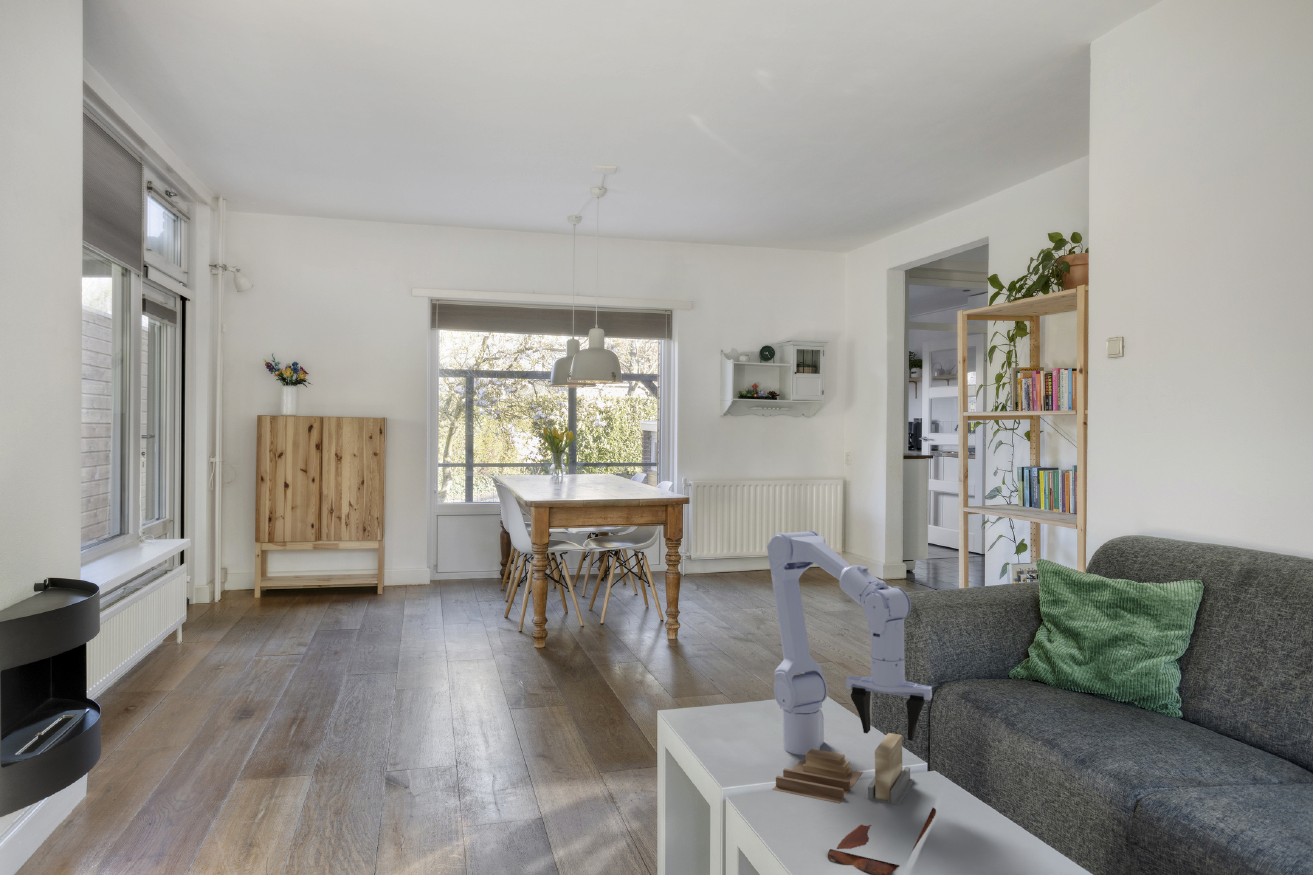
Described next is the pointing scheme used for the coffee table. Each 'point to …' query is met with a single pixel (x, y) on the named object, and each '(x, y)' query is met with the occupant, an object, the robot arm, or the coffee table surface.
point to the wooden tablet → (871, 866)
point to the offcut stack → (826, 763)
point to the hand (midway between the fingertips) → (888, 734)
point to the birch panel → (887, 765)
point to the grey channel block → (897, 790)
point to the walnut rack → (815, 784)
